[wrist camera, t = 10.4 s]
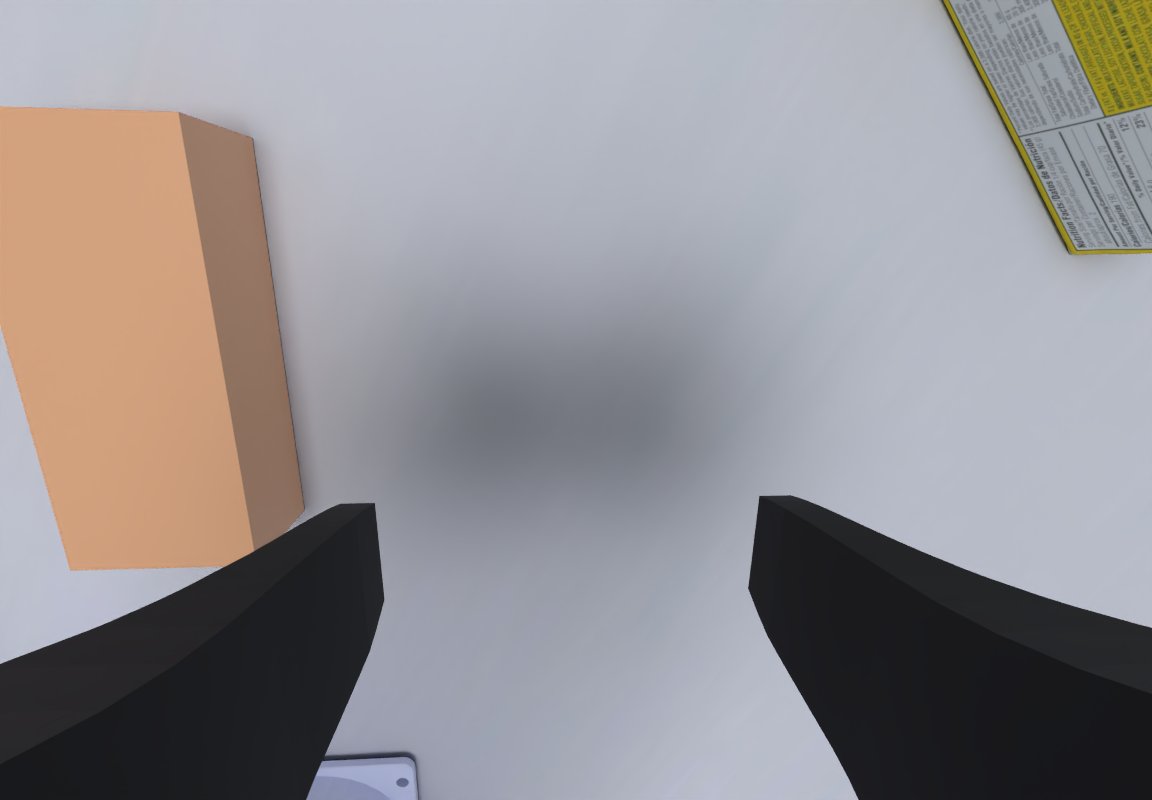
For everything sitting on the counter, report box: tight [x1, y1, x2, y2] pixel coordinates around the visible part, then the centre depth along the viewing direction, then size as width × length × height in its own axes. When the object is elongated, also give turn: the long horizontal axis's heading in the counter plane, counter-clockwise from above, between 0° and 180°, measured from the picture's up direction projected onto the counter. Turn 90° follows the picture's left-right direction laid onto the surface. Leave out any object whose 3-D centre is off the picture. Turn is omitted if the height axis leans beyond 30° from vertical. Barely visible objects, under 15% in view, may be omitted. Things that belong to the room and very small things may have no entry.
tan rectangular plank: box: [0, 107, 304, 570], centre depth 17 cm, size 13×5×4 cm, turn 179°
